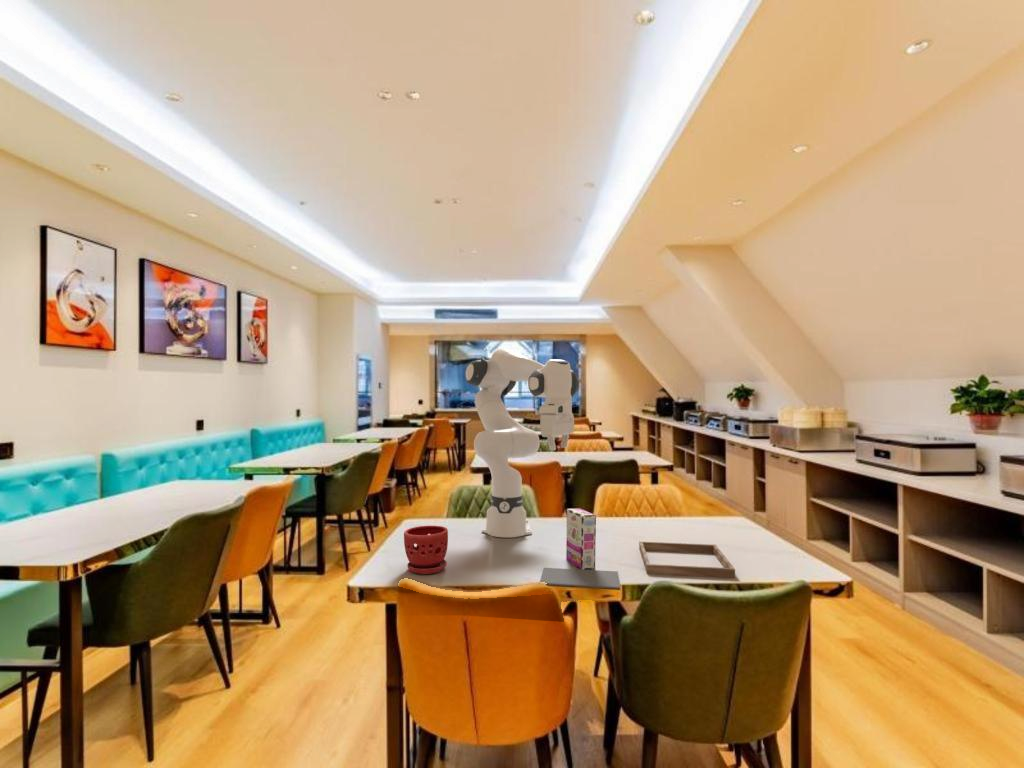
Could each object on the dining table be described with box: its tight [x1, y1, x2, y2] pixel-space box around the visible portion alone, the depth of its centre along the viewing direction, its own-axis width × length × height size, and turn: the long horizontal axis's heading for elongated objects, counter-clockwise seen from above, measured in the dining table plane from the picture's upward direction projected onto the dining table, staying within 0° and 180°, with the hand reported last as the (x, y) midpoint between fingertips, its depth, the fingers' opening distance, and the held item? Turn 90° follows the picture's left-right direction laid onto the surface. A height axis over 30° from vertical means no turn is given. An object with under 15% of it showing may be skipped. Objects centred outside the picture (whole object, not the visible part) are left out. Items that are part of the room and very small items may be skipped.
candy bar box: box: [565, 507, 597, 570], centre depth 173 cm, size 11×5×16 cm, turn 20°
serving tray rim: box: [638, 541, 736, 579], centre depth 175 cm, size 25×25×2 cm
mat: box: [539, 567, 621, 590], centre depth 160 cm, size 13×22×1 cm, turn 82°
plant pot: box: [403, 525, 449, 575], centre depth 167 cm, size 13×13×12 cm
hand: (558, 448), depth 186 cm, fingers open, 8 cm apart
